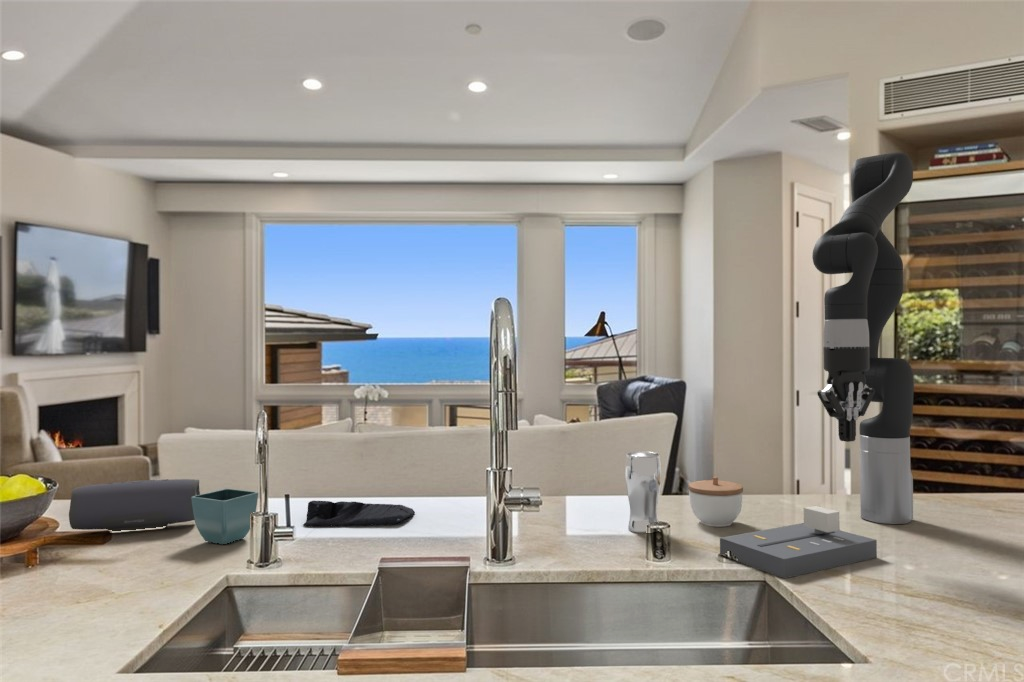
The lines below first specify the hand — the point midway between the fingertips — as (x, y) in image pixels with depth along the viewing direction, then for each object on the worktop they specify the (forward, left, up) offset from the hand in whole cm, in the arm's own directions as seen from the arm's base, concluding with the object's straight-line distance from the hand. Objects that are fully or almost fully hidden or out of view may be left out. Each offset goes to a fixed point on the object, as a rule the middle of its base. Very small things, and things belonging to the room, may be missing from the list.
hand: (847, 440), depth 129 cm
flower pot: (+99, -60, -19) cm, 117 cm away
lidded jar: (+9, -24, -19) cm, 32 cm away
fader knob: (+7, 0, -16) cm, 17 cm away
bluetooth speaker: (+114, -78, -19) cm, 139 cm away
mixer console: (+13, 0, -19) cm, 23 cm away
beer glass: (+25, -27, -19) cm, 41 cm away
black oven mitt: (+72, -64, -20) cm, 98 cm away
